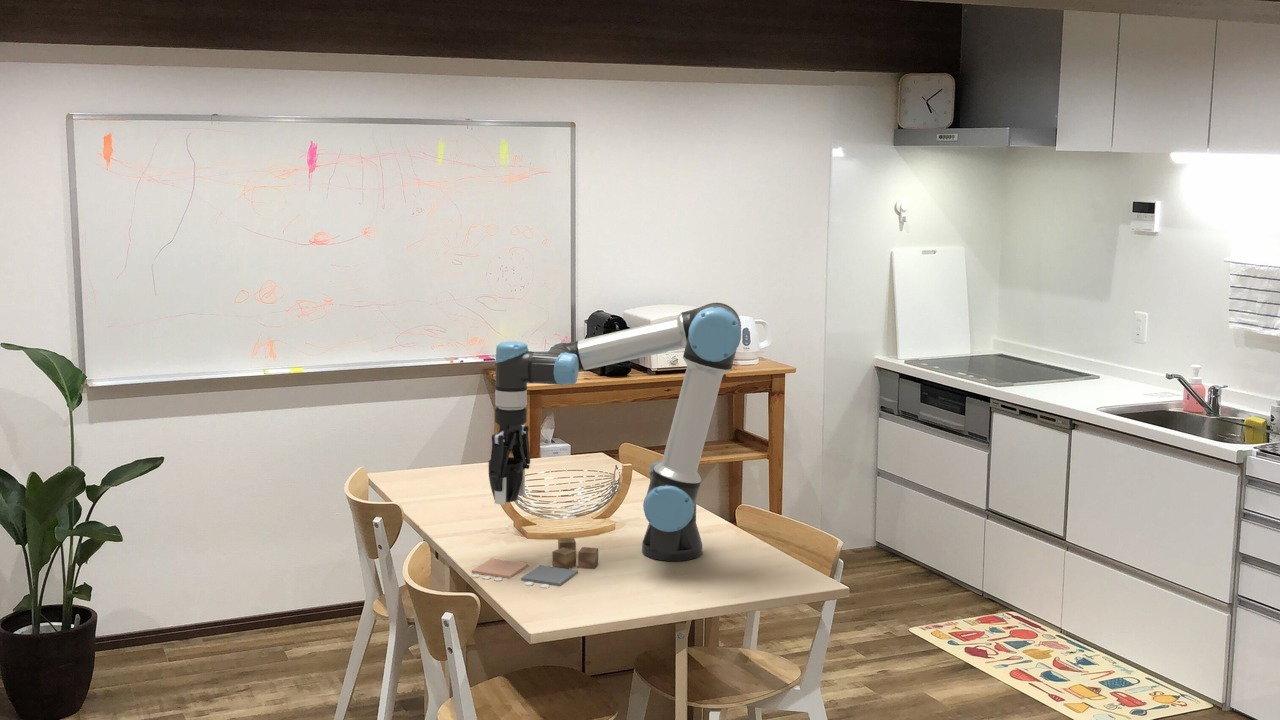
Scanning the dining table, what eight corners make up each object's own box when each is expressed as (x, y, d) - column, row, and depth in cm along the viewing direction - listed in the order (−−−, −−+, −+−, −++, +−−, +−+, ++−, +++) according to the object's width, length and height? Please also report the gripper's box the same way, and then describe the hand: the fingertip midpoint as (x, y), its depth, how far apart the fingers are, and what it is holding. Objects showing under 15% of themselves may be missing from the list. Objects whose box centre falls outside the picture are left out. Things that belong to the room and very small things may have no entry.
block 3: (598, 564, 299) (598, 548, 298) (594, 569, 295) (594, 553, 294) (582, 562, 299) (582, 547, 299) (578, 568, 296) (578, 551, 295)
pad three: (528, 565, 296) (528, 563, 296) (503, 582, 284) (503, 579, 284) (491, 560, 300) (491, 558, 300) (465, 576, 288) (465, 573, 288)
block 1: (574, 553, 307) (574, 537, 306) (575, 558, 303) (575, 542, 302) (558, 553, 306) (558, 538, 306) (559, 558, 302) (559, 542, 302)
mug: (502, 509, 288) (502, 470, 287) (483, 497, 298) (483, 458, 297) (534, 505, 292) (535, 466, 291) (514, 493, 302) (514, 455, 301)
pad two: (577, 572, 292) (578, 570, 291) (554, 589, 280) (554, 587, 280) (539, 567, 295) (539, 565, 295) (515, 583, 283) (515, 581, 283)
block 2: (575, 566, 297) (576, 550, 296) (565, 570, 293) (565, 554, 293) (563, 563, 299) (563, 547, 298) (552, 567, 296) (552, 551, 295)
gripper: (518, 398, 303) (517, 487, 307) (473, 412, 284) (473, 507, 288) (545, 401, 301) (544, 491, 304) (502, 416, 281) (501, 512, 285)
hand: (509, 499), depth 296 cm, fingers closed on mug, 8 cm apart
